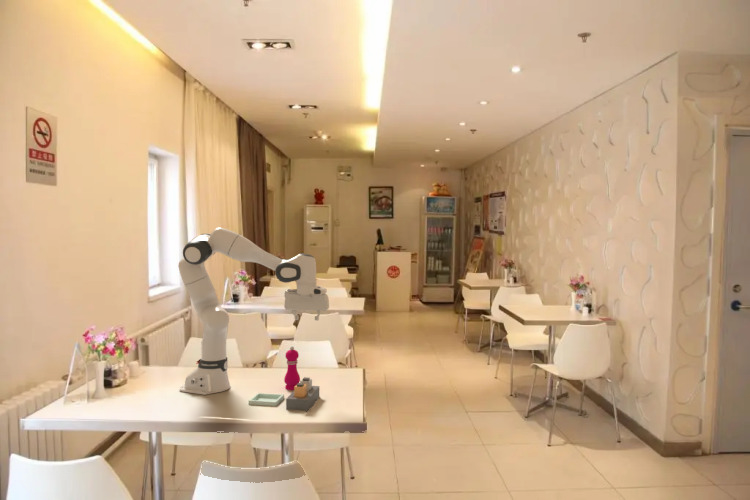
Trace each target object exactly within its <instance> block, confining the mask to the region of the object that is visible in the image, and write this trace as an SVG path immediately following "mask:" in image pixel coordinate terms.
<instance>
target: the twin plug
mask: <svg viewBox="0 0 750 500" xmlns="http://www.w3.org/2000/svg"><path fill="white" fill-rule="evenodd" d="M299 383H304V384H305V385H306V386H307V391H311V390H312V386H313V379H312V378H311V377H308V376H307V377H306V376H304V377H303V378H302V379H300V382H299Z"/></svg>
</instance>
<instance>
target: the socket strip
mask: <svg viewBox="0 0 750 500" xmlns="http://www.w3.org/2000/svg"><path fill="white" fill-rule="evenodd" d="M319 399H320V386H319V385H312V390H311V391H307V396H306V397H305V398H300V397H294V390H292V392H291V393H290V394H289V395H288V396H287V397H286V398H285V402H286V403H285V410H288V411H289V410H290V411H304V412H305V413H308V412H309V411H310V410H311V409H312V407H313V406H314V405H315V404H316V402H317V401H318V400H319Z"/></svg>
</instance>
